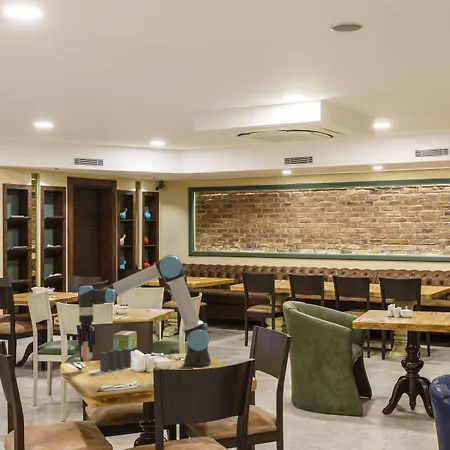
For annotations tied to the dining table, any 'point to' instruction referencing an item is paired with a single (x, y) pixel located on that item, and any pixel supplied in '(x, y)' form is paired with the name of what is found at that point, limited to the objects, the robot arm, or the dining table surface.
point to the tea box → (125, 340)
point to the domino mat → (108, 371)
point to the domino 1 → (85, 352)
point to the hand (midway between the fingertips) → (87, 357)
